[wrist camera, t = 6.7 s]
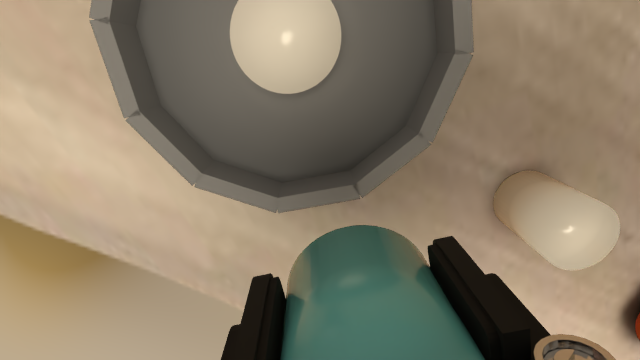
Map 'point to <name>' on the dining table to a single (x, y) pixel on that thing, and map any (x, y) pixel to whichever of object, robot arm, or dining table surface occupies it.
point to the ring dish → (285, 125)
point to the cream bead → (557, 219)
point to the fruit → (638, 326)
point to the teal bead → (369, 302)
